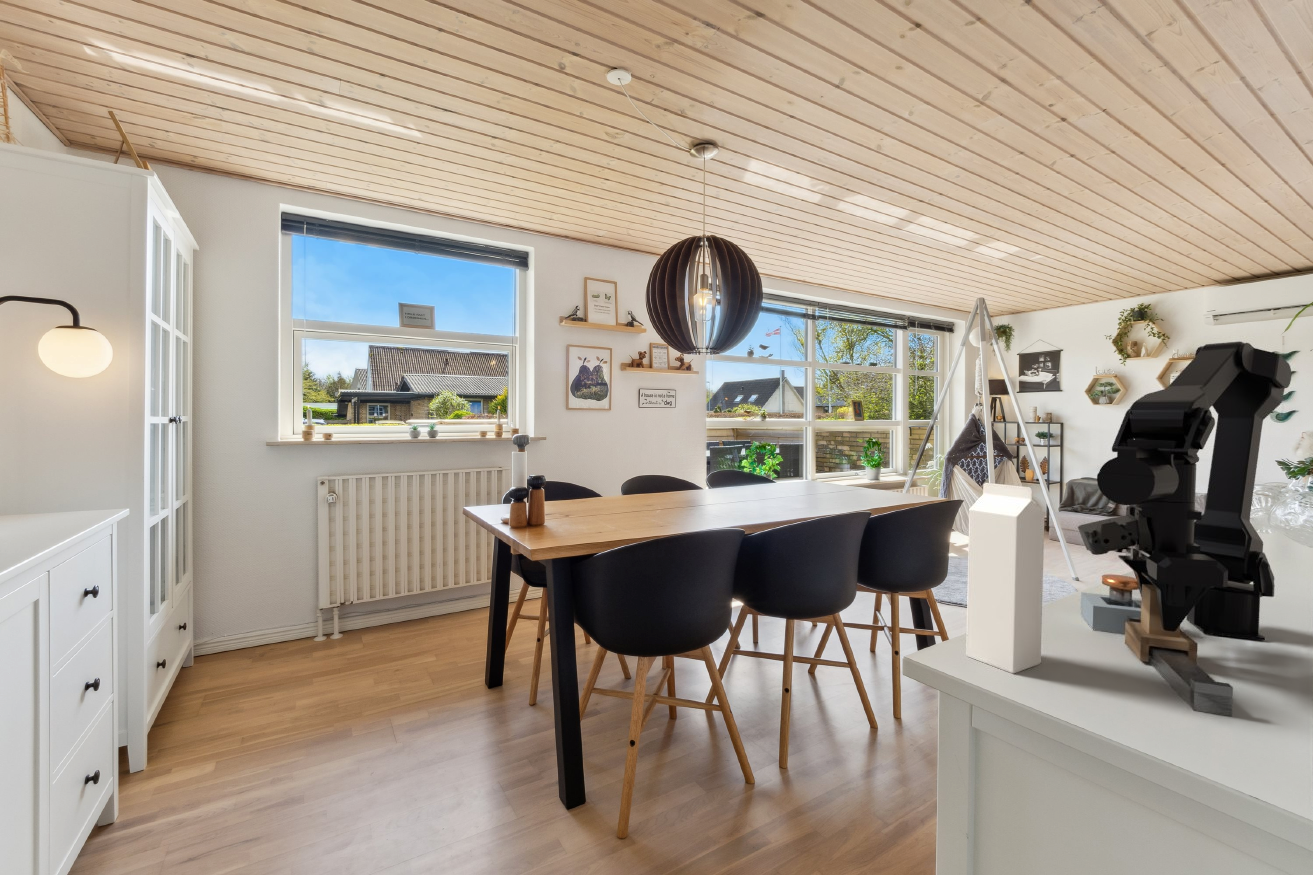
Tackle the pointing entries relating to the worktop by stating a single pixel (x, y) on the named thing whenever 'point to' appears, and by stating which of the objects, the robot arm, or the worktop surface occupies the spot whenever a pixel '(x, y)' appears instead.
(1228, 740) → the worktop surface
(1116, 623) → the box
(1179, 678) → the rail
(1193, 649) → the carriage
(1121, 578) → the button
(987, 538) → the milk
